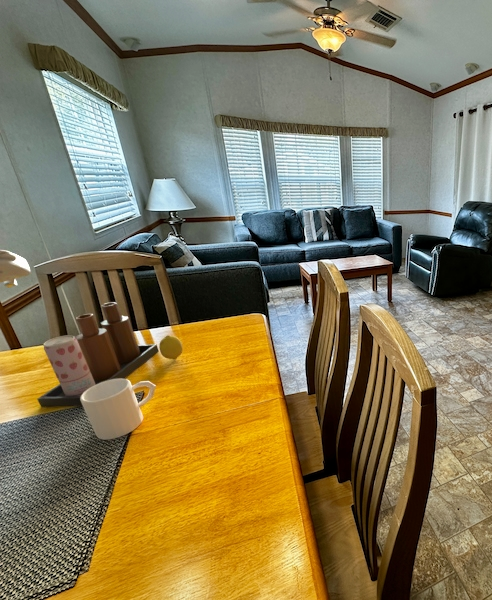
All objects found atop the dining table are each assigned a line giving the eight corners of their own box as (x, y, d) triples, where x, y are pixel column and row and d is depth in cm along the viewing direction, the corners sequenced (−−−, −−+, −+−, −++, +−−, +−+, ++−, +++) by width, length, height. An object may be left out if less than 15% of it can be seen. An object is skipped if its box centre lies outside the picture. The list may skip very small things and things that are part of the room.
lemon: (189, 356, 99) (183, 333, 96) (171, 366, 94) (163, 341, 91) (178, 352, 101) (171, 329, 98) (159, 361, 96) (151, 337, 93)
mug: (166, 418, 74) (154, 382, 71) (96, 446, 67) (79, 407, 63) (161, 401, 80) (149, 367, 76) (96, 424, 72) (80, 388, 69)
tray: (90, 406, 78) (86, 397, 77) (41, 407, 78) (36, 398, 77) (158, 351, 102) (156, 344, 101) (121, 352, 101) (118, 345, 100)
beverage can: (71, 403, 78) (46, 348, 73) (63, 395, 81) (38, 342, 76) (100, 390, 83) (79, 338, 77) (92, 383, 86) (70, 332, 80)
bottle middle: (88, 383, 86) (62, 322, 80) (100, 371, 92) (76, 313, 85) (115, 379, 88) (92, 319, 81) (125, 367, 93) (104, 310, 87)
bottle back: (112, 366, 94) (89, 309, 87) (121, 356, 99) (101, 301, 92) (136, 363, 95) (116, 306, 89) (144, 353, 101) (126, 299, 94)
